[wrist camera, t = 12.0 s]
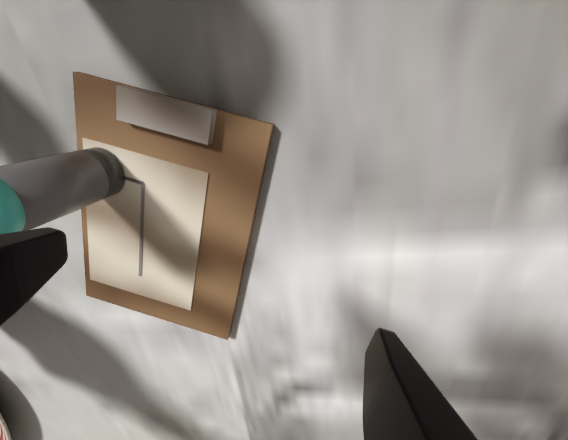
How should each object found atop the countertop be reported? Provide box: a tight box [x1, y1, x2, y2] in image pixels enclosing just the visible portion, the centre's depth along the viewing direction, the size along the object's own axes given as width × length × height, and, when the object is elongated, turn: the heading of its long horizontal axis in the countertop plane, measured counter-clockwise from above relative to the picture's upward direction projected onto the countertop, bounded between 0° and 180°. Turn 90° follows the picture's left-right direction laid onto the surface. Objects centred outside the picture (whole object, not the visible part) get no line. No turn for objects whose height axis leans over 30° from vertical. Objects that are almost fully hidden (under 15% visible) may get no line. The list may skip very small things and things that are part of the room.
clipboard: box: [73, 72, 274, 340], centre depth 22 cm, size 18×13×1 cm
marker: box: [0, 147, 125, 234], centre depth 17 cm, size 3×3×8 cm
